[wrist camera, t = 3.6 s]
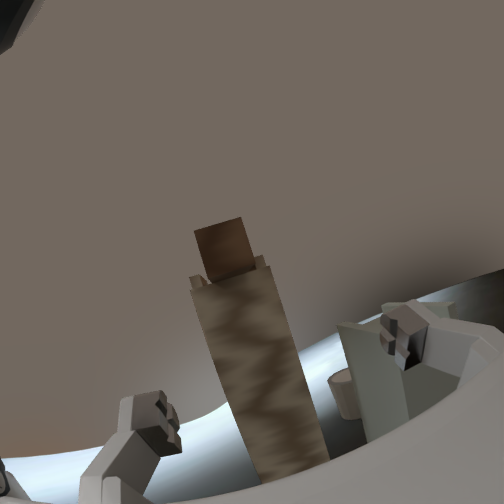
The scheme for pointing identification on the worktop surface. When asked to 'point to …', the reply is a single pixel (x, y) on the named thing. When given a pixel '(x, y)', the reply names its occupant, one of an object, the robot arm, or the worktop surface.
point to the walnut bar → (225, 250)
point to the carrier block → (391, 376)
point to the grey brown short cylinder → (344, 394)
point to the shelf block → (260, 371)
